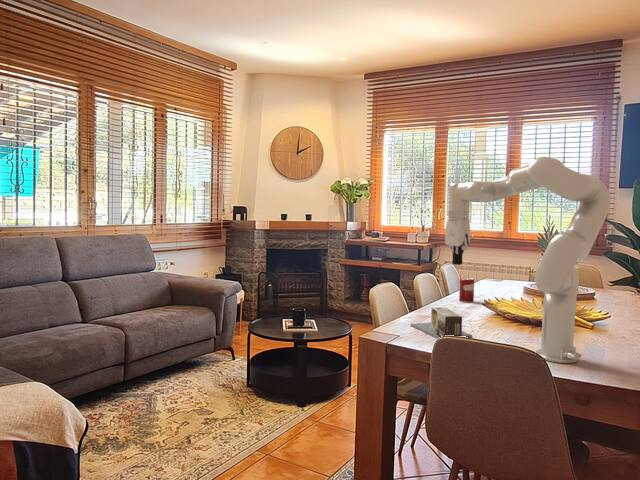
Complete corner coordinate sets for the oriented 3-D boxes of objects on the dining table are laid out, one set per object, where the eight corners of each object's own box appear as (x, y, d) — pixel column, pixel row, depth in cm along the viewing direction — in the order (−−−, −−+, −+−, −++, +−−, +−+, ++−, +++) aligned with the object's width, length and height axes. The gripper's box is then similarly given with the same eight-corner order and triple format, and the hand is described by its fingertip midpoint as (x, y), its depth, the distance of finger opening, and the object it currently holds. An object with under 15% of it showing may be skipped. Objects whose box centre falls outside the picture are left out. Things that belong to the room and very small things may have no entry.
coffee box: (446, 329, 195) (461, 341, 179) (430, 330, 194) (444, 342, 178) (447, 306, 194) (463, 316, 178) (430, 306, 193) (445, 317, 177)
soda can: (456, 300, 261) (457, 277, 260) (468, 300, 263) (469, 277, 262) (464, 303, 254) (465, 279, 253) (476, 302, 256) (477, 279, 256)
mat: (472, 337, 188) (472, 335, 187) (439, 339, 183) (439, 337, 183) (440, 323, 208) (440, 321, 208) (410, 325, 204) (410, 323, 204)
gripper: (438, 215, 192) (437, 262, 194) (462, 216, 178) (460, 267, 180) (455, 215, 195) (454, 262, 196) (479, 216, 181) (478, 266, 182)
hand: (457, 264), depth 188 cm, fingers closed
